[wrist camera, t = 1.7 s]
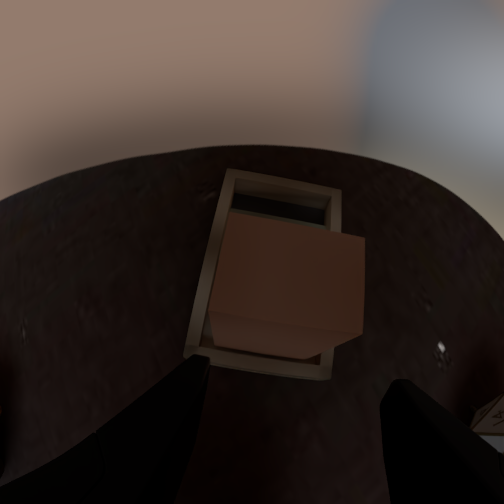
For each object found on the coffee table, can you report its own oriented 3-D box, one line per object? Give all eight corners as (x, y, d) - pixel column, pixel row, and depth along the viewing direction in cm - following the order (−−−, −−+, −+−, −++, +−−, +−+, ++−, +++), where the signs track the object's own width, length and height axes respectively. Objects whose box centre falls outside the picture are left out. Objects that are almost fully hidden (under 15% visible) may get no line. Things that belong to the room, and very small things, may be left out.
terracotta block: (303, 360, 19) (362, 333, 11) (214, 346, 19) (208, 310, 11) (310, 300, 21) (365, 237, 13) (226, 286, 21) (229, 211, 12)
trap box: (320, 380, 20) (330, 379, 18) (186, 359, 20) (182, 356, 18) (333, 205, 26) (341, 190, 24) (226, 184, 26) (227, 168, 24)
